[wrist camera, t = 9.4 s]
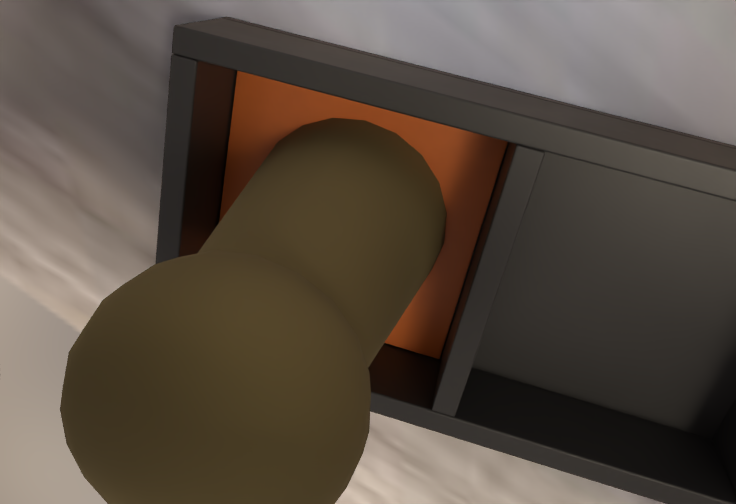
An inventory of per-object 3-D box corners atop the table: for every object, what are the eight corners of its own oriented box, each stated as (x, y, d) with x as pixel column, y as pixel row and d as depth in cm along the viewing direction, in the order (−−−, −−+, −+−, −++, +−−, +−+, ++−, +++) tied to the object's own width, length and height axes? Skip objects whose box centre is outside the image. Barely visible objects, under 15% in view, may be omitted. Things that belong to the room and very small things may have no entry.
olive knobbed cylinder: (469, 145, 18) (413, 362, 8) (421, 328, 20) (333, 661, 11) (264, 95, 19) (-23, 237, 9) (242, 278, 21) (2, 547, 11)
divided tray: (226, 16, 19) (172, 24, 16) (881, 183, 17) (957, 226, 14) (195, 295, 23) (148, 343, 20) (720, 454, 21) (753, 531, 18)
